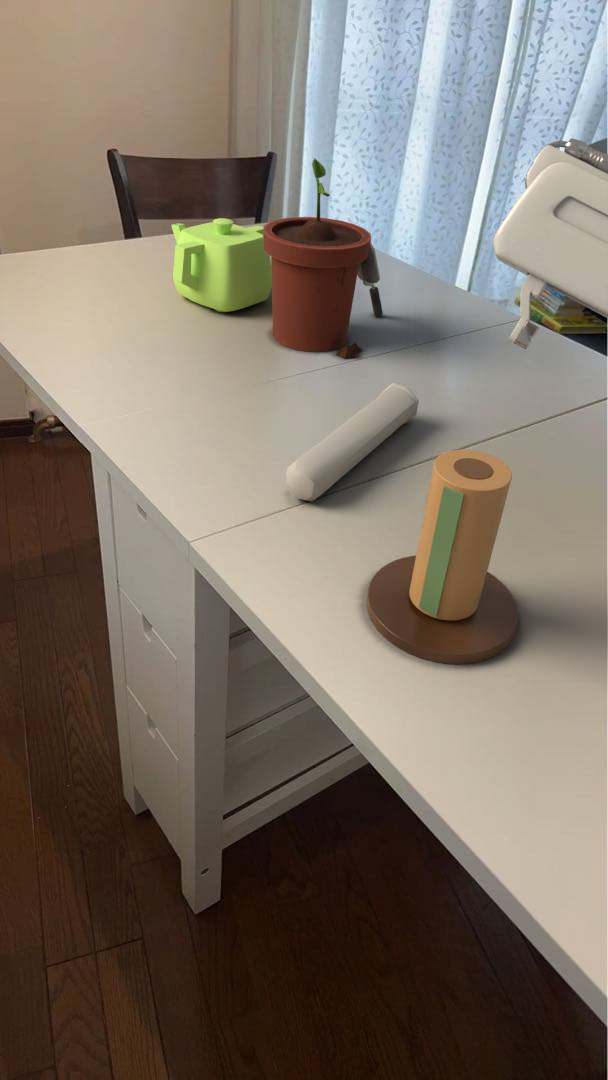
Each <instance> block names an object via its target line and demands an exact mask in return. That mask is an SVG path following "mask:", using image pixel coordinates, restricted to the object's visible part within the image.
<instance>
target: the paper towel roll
mask: <svg viewBox="0 0 608 1080" xmlns="http://www.w3.org/2000/svg"><path fill="white" fill-rule="evenodd" d="M432 466H433V467H432V472H431V477H430V482H429V488H428V493H427V498H426V503H425V508H424V513H423V520H422V523H421V530H420V534H419V540H418V545H417V551H416V555H415V556H416V560H415V565H414V570H413V575H412V580H411V586H410V591H409V594H410V598H411V601H412V602H413V604H414V605H415V606H416V607H417V608H418V609H419V610H420V611H422V612H423V613H425V614H427V615H429V616H431V617H434V618H437V619H441V620H451V621H452V620H461V619H464V618H467V617H469V616H471V615H472V614H473V613H474V612H475V611H476V609H477V607H478V604H479V600H480V596H481V593H482V589H483V585H484V581H485V577H486V574H487V572H488V570H489V567H490V562H491V559H492V555H493V551H494V546H495V543H496V540H497V536H498V531H499V528H500V524H501V520H502V517H503V513H504V510H505V509H504V508H505V505H506V501H507V498H508V494H509V490H510V486H511V484H512V483H511V482H512V479H513V475H512V471H511V469H510V467H509V466H508V465H507V464H506V463H505V462H504V461H502V460H501V459H499V458H498V457H496V456H495V455H494V456H493V455H492V454H488V453H486V452H484V451H478V450H474V449H453V450H447V451H445V452H442V453H441V454H440V455H438V456H436V458H435V460H434V462H433V465H432Z"/></svg>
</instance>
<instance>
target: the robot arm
mask: <svg viewBox="0 0 608 1080" xmlns="http://www.w3.org/2000/svg"><path fill="white" fill-rule="evenodd" d="M560 148H564V149H563V150H561V149H560ZM524 181H525V182H524V188H525V189H524V191H523V192H522V193H521V195H520V196H519V198H518V199H517V200H516V202H515V203H514V204H513V206H512V207H511V209H510V210H509V211H508V213H507V214H506V216H505V217H504V219H503V221H502V223H501V224H500V225H499V227H498V229H497V231H496V232H495V234H494V236H493V239H492V245H493V247H492V248H493V252H494V255H495V257H496V259H497V260H498V261H499V262H501V263H503V264H504V265H506V266H508V267H510V268H512V269H514V270H516V271H518V272H519V273H521V274H523V275H525V276H527V277H526V278H525V280H524V282H523V284H522V285H521V287H520V296H519V297H520V299H519V301H520V302H519V320H518V322H517V324H516V325H515V327H514V329H513V330H512V332H511V334H510V336H509V337H508V341H509V342H511V343H513V344H515V345H516V346H519V347H521V348H522V349H524V350H527V349H528V348H529V347H530V345H531V343H532V338H534V337H535V336H536V334H537V333H538V331H539V330H540V327H539V326H538V325H536V324H534V323H533V322H531V309H532V308H531V307H532V306H531V305H532V303H531V302H532V298H534V299H536V300H539V299H540V298H541V296H542V295H543V293H544V291H545V290H546V288H547V287H548V288H550V289H551V290H554V291H555V292H557V293H559V294H561V295H563V296H565V297H566V298H569V300H572V301H574V302H576V303H578V304H580V305H582V306H584V307H586V308H588V309H589V310H591V311H593V312H595V313H597V314H599V315H601V316H603V317H604V318H607V319H608V153H605V152H603V151H602V152H601V151H600V150H596V149H595V148H593V147H590V146H589V144H588V143H586V142H585V141H583V140H580V139H577V138H573V137H572V138H569V140H568V141H566V140H556V141H552V142H550V143H548V144H546V145H545V146H543V147H542V148H541V149H540V150H539V151H538V152H537V154H536V155H535V158H534V160H533V162H532V163H531V165H530V166H529V168H528V170H527V172H526V175H525V180H524Z"/></svg>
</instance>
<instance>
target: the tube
mask: <svg viewBox="0 0 608 1080" xmlns="http://www.w3.org/2000/svg"><path fill="white" fill-rule="evenodd" d="M419 403H420V401H419V398H418V397H417V395H416V394H415V393H414V392H413V390H412V389H411V388H410V387H409V386H407V385H404V384H401V383H399V382H398V383H397V382H394V381H393V382H392V383H391V384H390V385H388V386H387V387H386V388H385V389H384V390H383V391H382V392H381V394H379V395H378V396H377V397H376V398H374V399H373V400H372V401H370V402H369V403H368V404H366V405H365V406H364V407H363V408H361V409H360V410H359V411H358V412H356V413H355V414H354V415H352V416H351V417H350V418H349V419H347V420H345V421H344V422H343V423H342V424H341V425H339V426H338V427H337V428H336V429H335V430H333V431H332V432H330V433H329V434H328V435H326V436H325V437H324V438H323V439H322V440H320V441H318V442H317V443H316V444H315V445H314V446H312V447H311V448H310V449H309V450H307V451H306V452H305V453H303V454H302V455H300V456H299V457H298V458H297V459H296V460H295V461H293V462H292V463H291V464H290V465H289V466H288V467H287V469H286V472H285V484H286V488H287V489H288V491H289V492H290V494H291V497H292V498H293V499H298V500H303V501H308V502H311V503H312V502H314V501H315V500H317V498H319V497H321V496H322V495H323V494H324V493H325V492H326V491H327V490H328V489H330V488H331V487H332V486H333V485H335V483H336V482H338V481H339V480H340V479H341V478H342V477H343V476H345V475H346V474H347V473H349V471H351V470H352V469H353V468H354V467H355V466H356V465H357V464H359V463H360V462H361V461H362V460H364V458H366V457H367V456H368V455H369V454H370V453H372V452H373V450H375V449H376V448H377V447H378V446H379V445H380V444H382V443H383V442H384V441H385V440H386V439H388V438H389V437H390V436H391V435H392V434H393V433H394V432H395V431H397V430H398V429H399V428H400V427H401V426H402V425H406V423H408V422H409V421H410V420H411V419H414V417H415V416H416V415H417V414H418V407H419Z"/></svg>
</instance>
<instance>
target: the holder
mask: <svg viewBox="0 0 608 1080" xmlns="http://www.w3.org/2000/svg"><path fill="white" fill-rule="evenodd" d="M415 560H416V555H410V556H405V557H401V558H398V559H395V560H392V561H391V562H389V563H387V564H385V565H384V566H382V567H381V568H380V569H379V570H378V571H377V572H376V573H375V574H374V575H373V577H372V578H371V580H370V582H369V586H368V589H367V595H366V608H367V609H366V610H367V612H368V617H369V619H370V621H371V623H372V625H373V626H374V627H375V630H377V632H378V633H379V634H380V635H382V637H383V638H384V639H386V640H387V641H388V642H389V643H391V644H392V645H393V646H394V647H397V648H398V649H399V650H401V651H403V652H405V653H407V654H409V655H412V656H415V657H418V658H419V659H422V660H427V661H429V662H435V663H442V664H448V665H449V664H450V665H451V664H452V665H463V664H464V665H465V664H472V663H478V662H481V661H484V660H488V659H490V658H492V657H494V656H496V655H498V654H499V653H501V652H502V651H504V649H506V648H507V647H508V646H509V645H510V643H511V642H512V640H513V638H514V635H515V633H516V630H517V626H518V624H519V623H518V622H519V615H520V614H519V608H518V605H517V602H516V599H515V597H514V595H513V594H512V592H511V591H510V590H509V588H508V587H507V586H506V585H505V584H504V583H503V582H502V581H501V580H500V579H498V578H497V577H496V576H495V575H493V574H492V573H490V572H489V571H487V574H486V577H485V581H484V585H483V589H482V593H481V596H480V600H479V604H478V607H477V609H476V611H475V612H474V613H473V614H472V615H471V616H469V617H467V618H464V619H461V620H452V621H451V620H441V619H437V618H434V617H431V616H429V615H427V614H425V613H423V612H422V611H420V610H419V609H418V608H417V607H416V606H415V605H414V604H413V602H412V601H411V598H410V594H409V591H410V586H411V580H412V575H413V570H414V565H415Z"/></svg>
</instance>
